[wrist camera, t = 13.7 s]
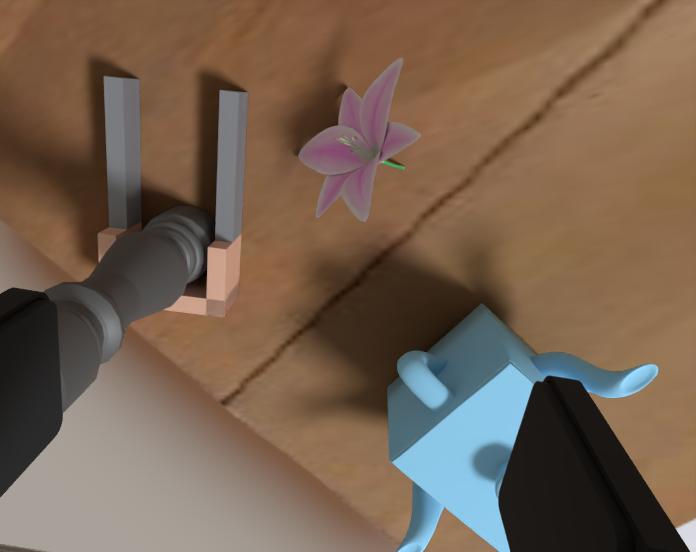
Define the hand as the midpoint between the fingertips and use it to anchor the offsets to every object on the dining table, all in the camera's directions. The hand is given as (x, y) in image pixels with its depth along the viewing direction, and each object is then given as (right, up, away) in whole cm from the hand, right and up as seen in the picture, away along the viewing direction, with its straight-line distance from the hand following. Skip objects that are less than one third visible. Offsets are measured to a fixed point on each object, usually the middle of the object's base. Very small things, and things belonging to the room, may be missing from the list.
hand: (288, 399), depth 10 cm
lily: (+2, +14, +34) cm, 37 cm away
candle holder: (-13, +6, +38) cm, 40 cm away
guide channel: (-13, +10, +36) cm, 40 cm away
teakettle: (+15, -8, +41) cm, 45 cm away
